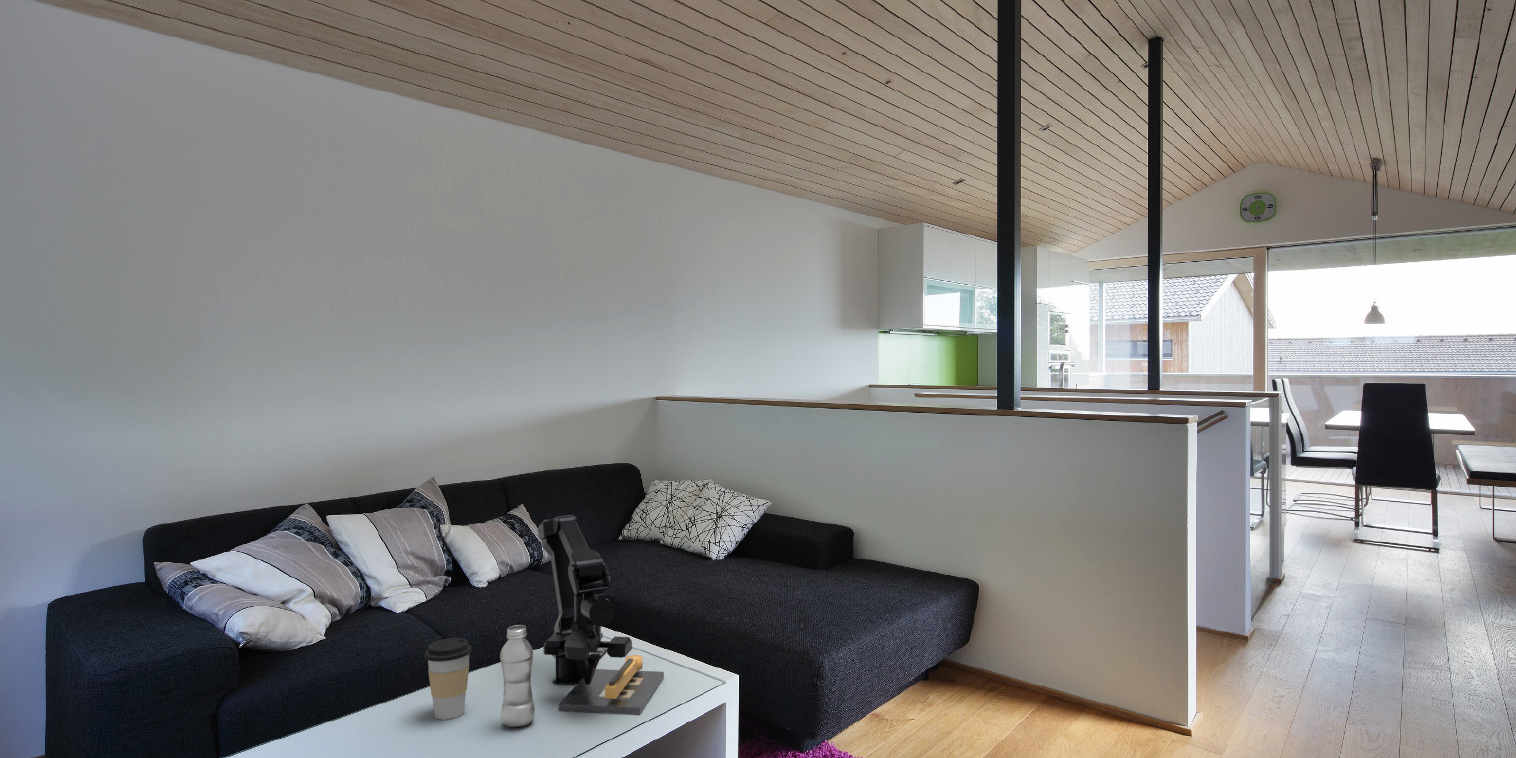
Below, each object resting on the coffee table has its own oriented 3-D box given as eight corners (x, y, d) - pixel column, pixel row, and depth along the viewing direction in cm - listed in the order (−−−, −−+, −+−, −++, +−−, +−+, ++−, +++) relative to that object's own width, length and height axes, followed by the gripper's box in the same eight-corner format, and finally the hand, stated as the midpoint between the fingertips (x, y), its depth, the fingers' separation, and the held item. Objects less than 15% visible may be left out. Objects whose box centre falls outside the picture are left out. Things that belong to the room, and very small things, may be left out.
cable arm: (601, 697, 166) (601, 683, 166) (628, 664, 185) (628, 651, 185) (619, 698, 165) (619, 683, 165) (644, 665, 184) (644, 651, 184)
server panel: (558, 710, 165) (558, 700, 165) (591, 674, 185) (591, 665, 185) (639, 714, 163) (639, 704, 163) (664, 677, 183) (663, 668, 183)
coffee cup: (481, 707, 167) (481, 639, 167) (451, 726, 158) (450, 654, 158) (446, 702, 170) (445, 634, 170) (414, 720, 161) (414, 649, 161)
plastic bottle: (529, 731, 156) (528, 632, 156) (496, 731, 156) (495, 633, 156) (539, 717, 162) (537, 622, 162) (507, 717, 162) (506, 622, 162)
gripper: (532, 624, 164) (533, 697, 164) (616, 627, 161) (617, 701, 161) (553, 608, 175) (553, 677, 175) (632, 611, 172) (633, 680, 172)
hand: (588, 684), depth 171 cm, fingers closed
